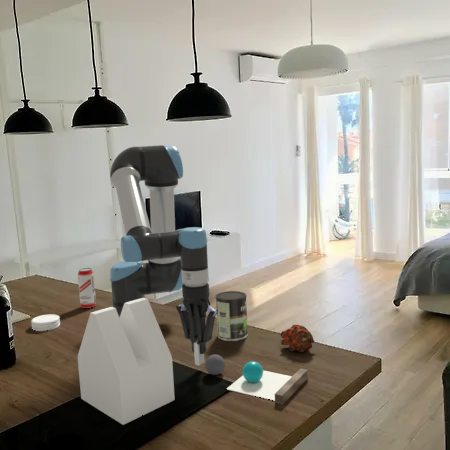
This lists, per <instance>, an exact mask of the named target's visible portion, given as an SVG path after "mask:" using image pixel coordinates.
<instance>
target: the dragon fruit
mask: <svg viewBox="0 0 450 450" xmlns="http://www.w3.org/2000/svg"><path fill="white" fill-rule="evenodd" d="M279 335H280V337H281V338H282V339H280V345H282V346H286V347H287V346H288V347H289V348H288V350H289V351H291V352H295V351H297V352H298V353H304V352H305V351H306V350H307V351H308V350H309V351H310V350H311V349H312V348H313V343H315V340H314V337H313V334H312V332H311V331H309V330H308V328H306V327H305V326H304V325H300V324H292V326H291V327H290V328H287V329H285V330H283V331H281V333H280V334H279Z"/></svg>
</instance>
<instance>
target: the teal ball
mask: <svg viewBox="0 0 450 450" xmlns="http://www.w3.org/2000/svg"><path fill="white" fill-rule="evenodd" d="M263 370H264V369H263V366H262V365H261V364H260V363H259V362H257V361H254V360H251V361H248V362H247V363H245V364H244V366H243V368H242V376H244V378H245V379H246V380H247V381H248V382H251V383H255V382H258V381H259V380H260V379H261V378H262V376H263Z"/></svg>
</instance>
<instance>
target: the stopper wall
mask: <svg viewBox="0 0 450 450" xmlns="http://www.w3.org/2000/svg"><path fill="white" fill-rule="evenodd" d="M307 380H308V369H306V368H299V369H298V371H296V372H295V373H294V374H293V375H292V377H291V378H290V379H289V380H288V381H287V382H286V383H285V384H284V385H283V386H282V387H281V388H280V389H279V390H278V391H277V392H276V393H275V401H274V404H275V403H278V404H277V405H279V404H281V405H280V406H284V404H286V402H287V401H288V400H289V399H290V398H291V397H292V396H293V395H294V394H295V393H296V392H297V391H298V390H299V388H300V387H302V385H303V384H304V383H305V382H306V381H307Z"/></svg>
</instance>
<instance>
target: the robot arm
mask: <svg viewBox="0 0 450 450" xmlns="http://www.w3.org/2000/svg"><path fill="white" fill-rule="evenodd" d="M109 175H110V176H109V177H110V182H111V185H112V187H114V188H115V190H116V194H117V200H118V205H119V209H120V214H121V219H122V225H123V228H124V234H125V235H124V236H122V237H121V239H120V249H121V257H122V260H123V261H120V262H118V263H115V264H114V265H112V266H111V268H110V278H109V281H110V283H111V284H110V285H111V298H112V299H111V300H112V307H114V308H116V310H117V313H118V315H119V318H120V315H121V312H122V309H123V306H124V303H126V302H130V301H133V300H137V299H140V298H146V295H154V294H162V293H172V292H175V291H176V292H178V291H180V290H181V292H182V294H181V295H182V297H183V300H182V303H180V304H178V305H176V307H175V309H176V311H177V312H178V314H179V318H180V322H181V326H182V329H183V334H184V337H185V340H190V343H191V351H192V353H194V354H193V355H194V356H193V357H194V365H196V366H199V367H200V366H201V365H202V364H205V362H206V360H205V353H206V352H207V345H206V344H207V343H208V342H210V341H211V340H212V337H213V332H214V327H215V321H216V317H217V313H218V309H216V308H214V307H212V306H211V302H210V298H209V297H210V284H209V282H210V281H209V280H210V279H209V265H208V263H209V262H208V261H209V259H208V238H207V232H206V230H205V228H204V227H197V226H193V227H185V228H179V229H176V217H175V213H176V212H175V188H176V187H178V185H179V180H180V179H182V178H183V177H184V167H183V160H182V157H181V153H180V152H179V149H178V148H177V147H176V146H174V145H166V144H165V145H164V144H162V145H147V146H145V145H144V146H132V147H130V146H129V147H128V148H126V149H124V150H122V151H121V152H120V153H118V155H117V156H116V157H115V159H114V161H113V162H112V164H111V167H110V172H109ZM141 181H142V182H143V181H144V186H145V187H146V188H147V189H148V190H149V206H150V207H149V209H150V210H149V211H150V219H149V217H148V213H147V210H146V209H147V208H146V205H145V201H144V198H143V193H142V191H141V185H140V182H141ZM145 261H147V262H145Z"/></svg>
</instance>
